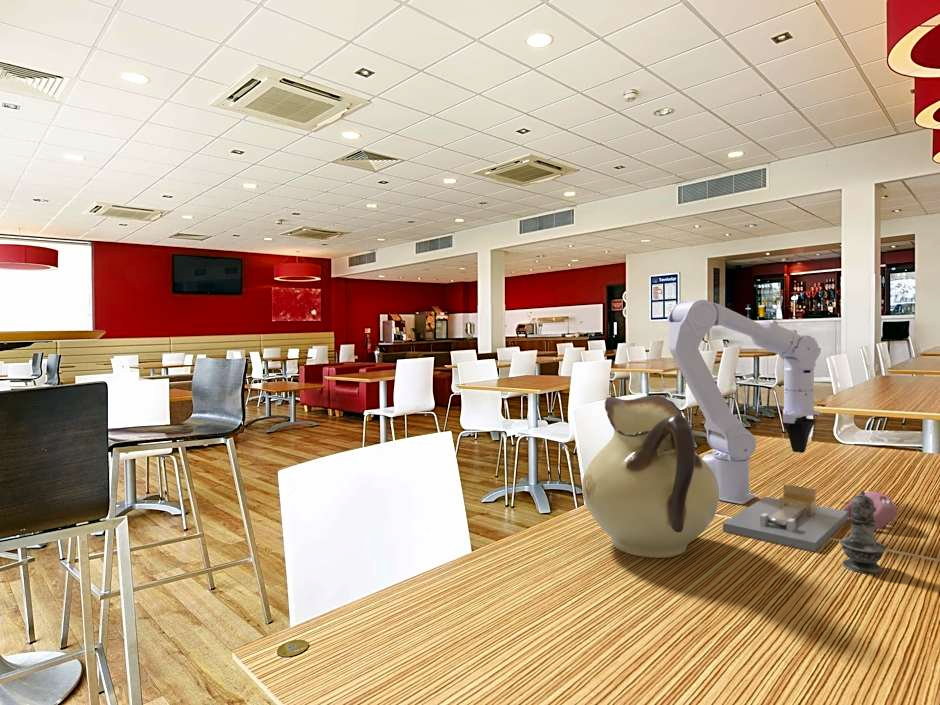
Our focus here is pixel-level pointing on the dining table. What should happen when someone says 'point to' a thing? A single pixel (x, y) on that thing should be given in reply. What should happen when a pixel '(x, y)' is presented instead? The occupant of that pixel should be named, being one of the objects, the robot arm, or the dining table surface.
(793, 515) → the silver flat bar
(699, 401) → the robot arm
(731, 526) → the base board
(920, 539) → the dining table surface
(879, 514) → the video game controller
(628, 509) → the pitcher
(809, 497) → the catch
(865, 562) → the grey stone finial
